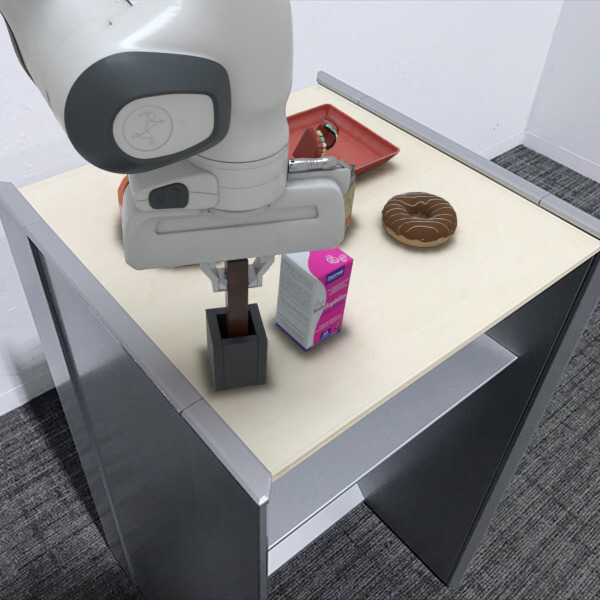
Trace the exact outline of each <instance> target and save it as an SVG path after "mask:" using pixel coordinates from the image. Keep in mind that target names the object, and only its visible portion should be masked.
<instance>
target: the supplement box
mask: <svg viewBox="0 0 600 600" xmlns="http://www.w3.org/2000/svg"><path fill="white" fill-rule="evenodd" d="M353 264H354V258H352V257H351V256H350V255H348V254H347V253H346V252H344V251H343V250H341V249H340V248H339V247H338V246H337V247H336V248H333V249H327V250H317V251H308V252H299V253H290V254H281V255H280V265H279V277H278V290H277V300H276V301H277V303H276V312H275V323H274V324H275V326H276V327H278V328H279V330H281V331H282V332H283V333H284V334H285V335H286V336H287V337H289V338H290V339H291V340H292V342H294V343H295V344H296V345H297V346H298V347H300V348H301V349H302V350H303V351H304V352H308V351H309V350H311V349H313V347H315V346H317V345H319V344H320V343H322V342H324V340H326V339H328V338H330V337H331V336H333V335H336V334H337V333H338V332H340V331H341V330H342V325H343V320H344V319H343V318H344V314H345V308H346V304H347V303H346V302H347V298H348V292H349V286H350V282H351V281H350V280H351V276H352V270H353Z"/></svg>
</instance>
